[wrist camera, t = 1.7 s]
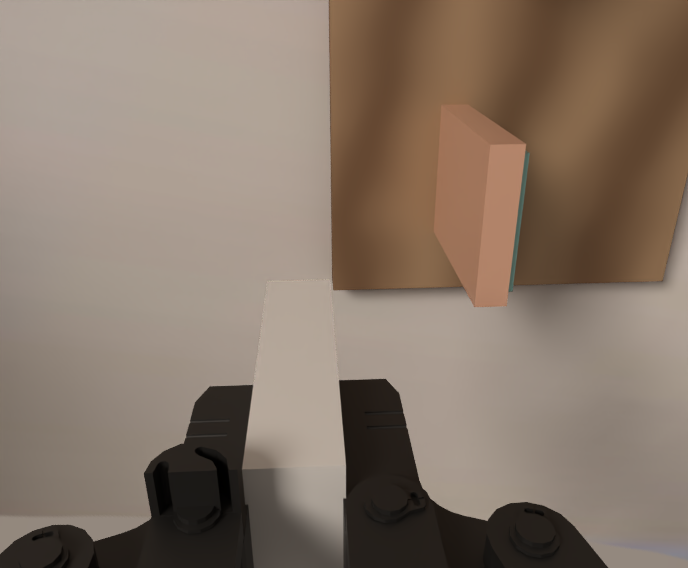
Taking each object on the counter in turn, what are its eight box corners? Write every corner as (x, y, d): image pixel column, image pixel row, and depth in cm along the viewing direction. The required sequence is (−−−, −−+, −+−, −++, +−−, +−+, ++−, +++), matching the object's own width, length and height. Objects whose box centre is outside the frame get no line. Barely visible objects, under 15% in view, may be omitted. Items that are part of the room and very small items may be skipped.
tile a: (433, 231, 30) (474, 307, 23) (441, 104, 28) (490, 144, 20) (464, 231, 30) (514, 305, 23) (474, 104, 28) (535, 143, 21)
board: (332, 277, 33) (333, 290, 31) (324, -405, 22) (325, -432, 20) (647, 269, 33) (662, 281, 32) (795, -391, 22) (826, -415, 21)
